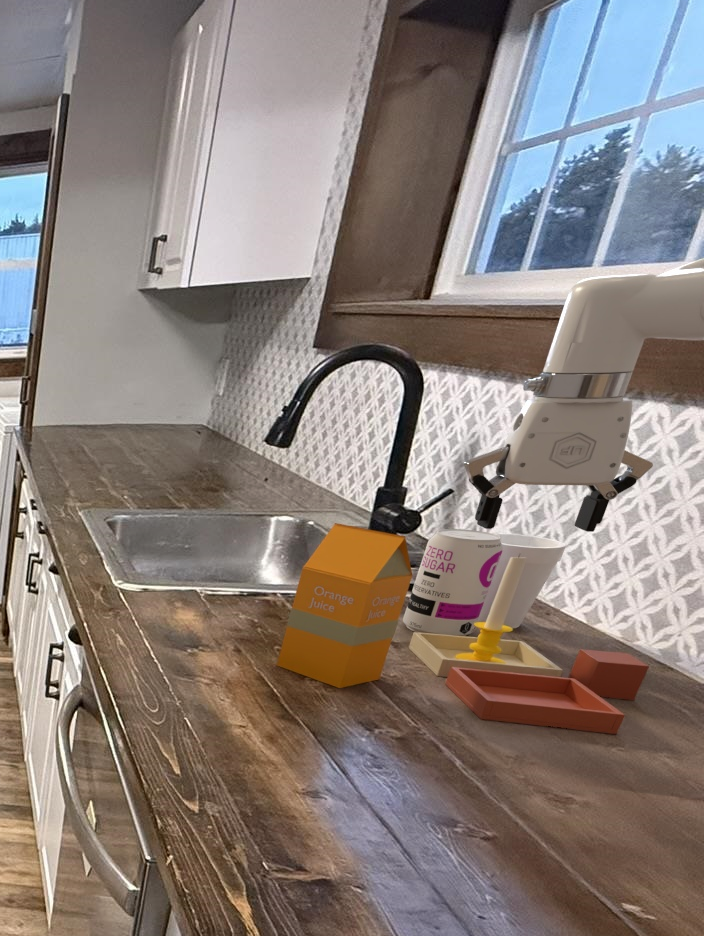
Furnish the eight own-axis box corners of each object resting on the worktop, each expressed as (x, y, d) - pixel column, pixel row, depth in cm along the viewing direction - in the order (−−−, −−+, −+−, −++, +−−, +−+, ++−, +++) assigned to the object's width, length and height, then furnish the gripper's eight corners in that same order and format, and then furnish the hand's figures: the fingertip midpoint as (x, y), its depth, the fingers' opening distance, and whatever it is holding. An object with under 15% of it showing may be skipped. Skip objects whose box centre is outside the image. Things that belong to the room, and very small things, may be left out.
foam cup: (447, 622, 129) (475, 541, 124) (455, 608, 135) (482, 530, 130) (530, 636, 123) (564, 551, 118) (536, 621, 128) (568, 539, 123)
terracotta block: (613, 686, 106) (628, 653, 104) (634, 700, 102) (649, 666, 101) (566, 681, 108) (579, 649, 106) (584, 695, 104) (599, 661, 102)
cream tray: (516, 657, 116) (523, 641, 115) (556, 688, 106) (563, 670, 105) (408, 647, 120) (413, 631, 119) (437, 676, 111) (442, 659, 110)
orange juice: (339, 688, 108) (384, 540, 101) (275, 665, 116) (312, 525, 108) (380, 679, 111) (427, 533, 103) (315, 657, 118) (354, 519, 111)
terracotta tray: (567, 696, 104) (574, 678, 103) (616, 734, 95) (625, 714, 94) (444, 683, 109) (451, 666, 108) (480, 719, 99) (487, 700, 98)
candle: (446, 655, 116) (484, 547, 110) (491, 657, 115) (532, 548, 109) (467, 669, 111) (508, 557, 105) (514, 671, 110) (558, 558, 104)
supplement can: (479, 631, 125) (514, 534, 120) (460, 643, 121) (496, 544, 115) (412, 617, 132) (442, 525, 126) (393, 629, 127) (423, 534, 122)
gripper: (501, 392, 99) (458, 532, 106) (701, 388, 93) (642, 537, 99) (475, 387, 106) (436, 519, 112) (661, 383, 99) (608, 524, 105)
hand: (533, 527), depth 106 cm, fingers open, 9 cm apart
